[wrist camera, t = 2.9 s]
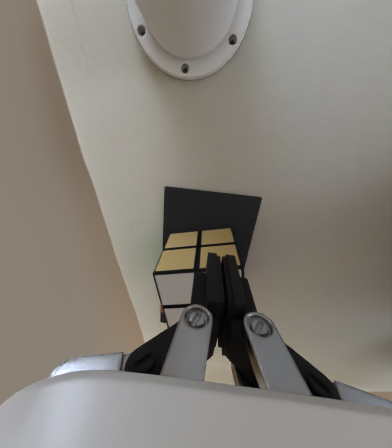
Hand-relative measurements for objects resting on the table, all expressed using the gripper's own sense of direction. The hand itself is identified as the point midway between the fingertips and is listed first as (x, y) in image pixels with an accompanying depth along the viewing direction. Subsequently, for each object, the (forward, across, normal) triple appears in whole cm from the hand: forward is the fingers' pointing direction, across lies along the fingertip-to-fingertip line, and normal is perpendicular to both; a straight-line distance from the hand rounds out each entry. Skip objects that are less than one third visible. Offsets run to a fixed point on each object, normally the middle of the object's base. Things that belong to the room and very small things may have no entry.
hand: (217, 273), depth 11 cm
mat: (+17, 0, +12) cm, 21 cm away
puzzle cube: (+17, 0, +10) cm, 19 cm away
